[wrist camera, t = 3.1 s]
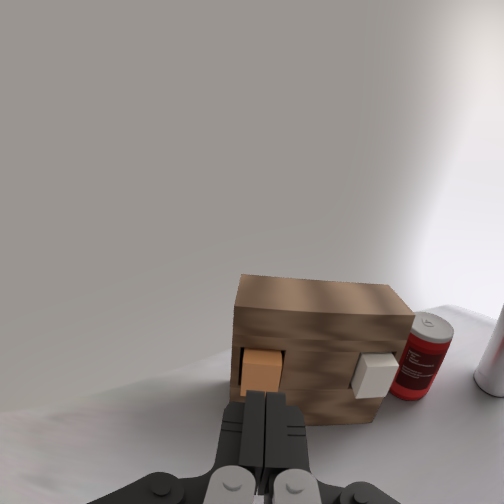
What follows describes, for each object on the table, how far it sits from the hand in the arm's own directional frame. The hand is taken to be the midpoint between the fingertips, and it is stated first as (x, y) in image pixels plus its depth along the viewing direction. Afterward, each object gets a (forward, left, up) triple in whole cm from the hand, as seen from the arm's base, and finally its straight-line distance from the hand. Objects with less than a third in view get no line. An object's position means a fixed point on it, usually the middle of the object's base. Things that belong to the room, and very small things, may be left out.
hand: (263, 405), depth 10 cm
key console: (-6, -19, -19) cm, 28 cm away
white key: (-12, -16, -13) cm, 24 cm away
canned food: (-23, -22, -20) cm, 38 cm away
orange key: (0, -16, -13) cm, 20 cm away
